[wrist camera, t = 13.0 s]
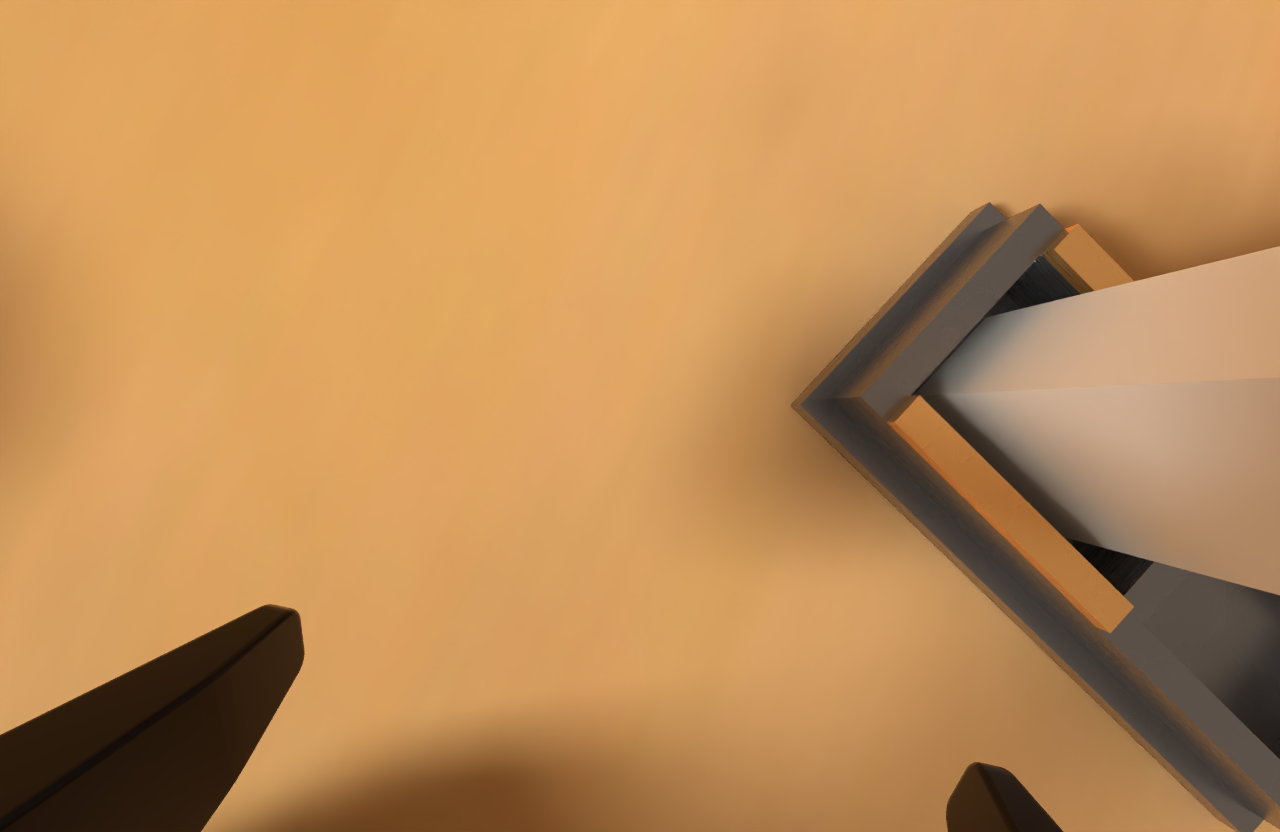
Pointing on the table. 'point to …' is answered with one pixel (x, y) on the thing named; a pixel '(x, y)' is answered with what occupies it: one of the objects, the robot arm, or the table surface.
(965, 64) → the table surface
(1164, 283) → the white rectangular block
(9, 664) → the table surface
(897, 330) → the rack
